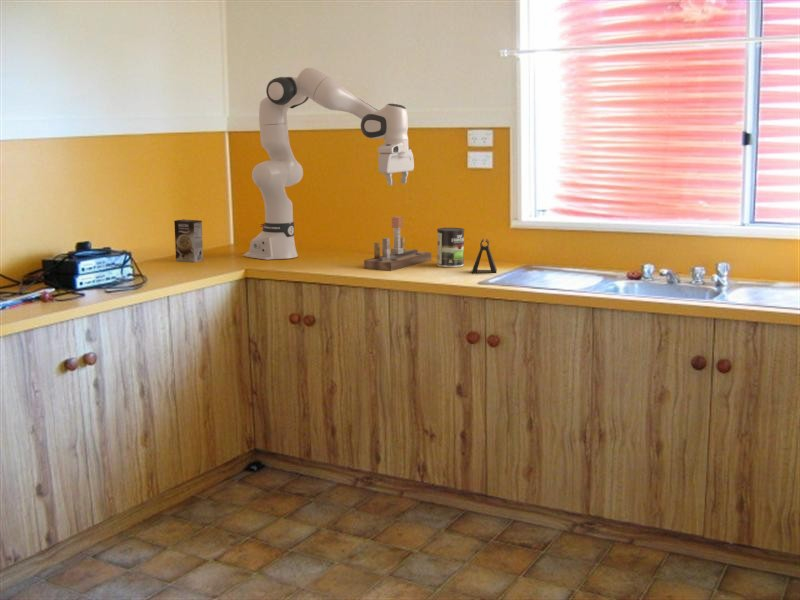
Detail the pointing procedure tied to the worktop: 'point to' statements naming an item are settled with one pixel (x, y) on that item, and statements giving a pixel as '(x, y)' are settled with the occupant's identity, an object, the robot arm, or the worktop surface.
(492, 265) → the black clip stand
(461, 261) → the coffee can
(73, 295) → the worktop surface
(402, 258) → the bolt plate
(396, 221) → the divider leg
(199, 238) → the coffee box
